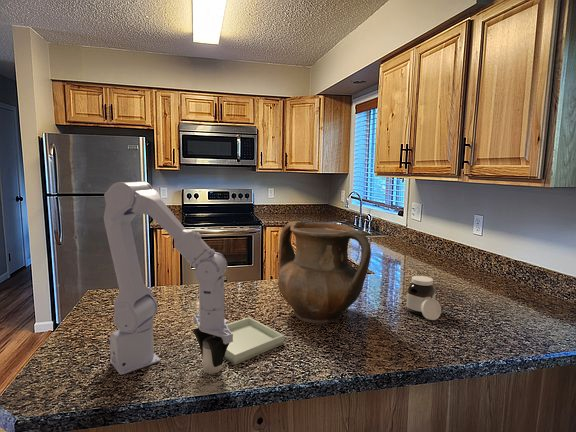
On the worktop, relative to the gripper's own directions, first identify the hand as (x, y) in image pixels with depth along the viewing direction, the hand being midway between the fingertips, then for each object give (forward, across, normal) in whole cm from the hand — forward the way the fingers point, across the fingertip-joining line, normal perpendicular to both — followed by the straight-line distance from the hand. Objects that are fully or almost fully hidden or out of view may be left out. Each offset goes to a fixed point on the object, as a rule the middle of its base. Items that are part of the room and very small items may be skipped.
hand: (212, 360), depth 85 cm
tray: (+2, +6, -13) cm, 14 cm away
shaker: (+2, 0, 0) cm, 2 cm away
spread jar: (+2, -17, -71) cm, 73 cm away
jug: (+2, +6, -44) cm, 44 cm away
